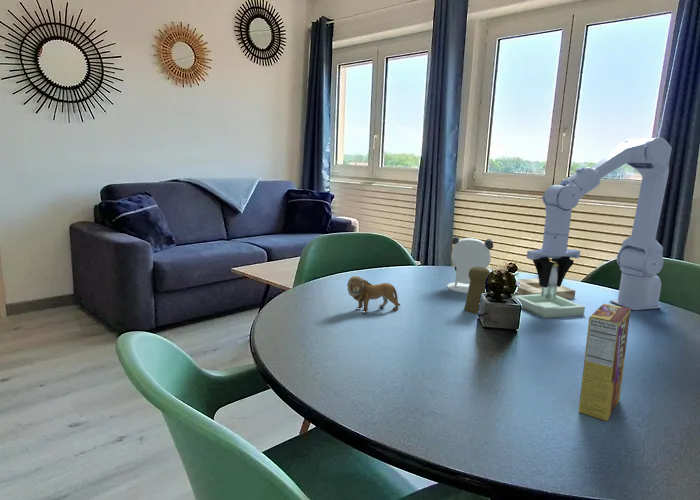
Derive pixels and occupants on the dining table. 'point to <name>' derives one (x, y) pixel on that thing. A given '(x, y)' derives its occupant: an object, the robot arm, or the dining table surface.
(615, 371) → the candy box
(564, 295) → the hitch block
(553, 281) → the steel pin
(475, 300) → the cork
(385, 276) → the dining table surface
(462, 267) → the panda figurine
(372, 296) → the lion figurine
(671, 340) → the dining table surface
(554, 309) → the sage tray
